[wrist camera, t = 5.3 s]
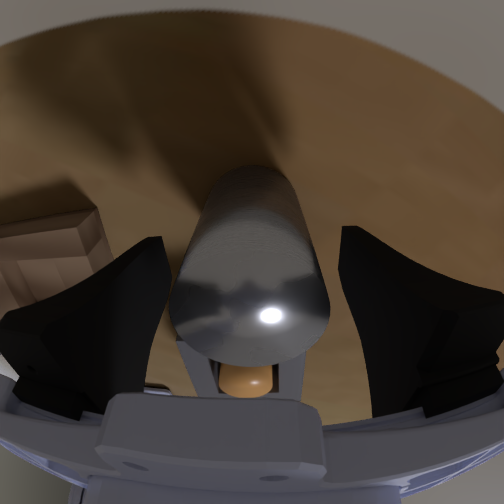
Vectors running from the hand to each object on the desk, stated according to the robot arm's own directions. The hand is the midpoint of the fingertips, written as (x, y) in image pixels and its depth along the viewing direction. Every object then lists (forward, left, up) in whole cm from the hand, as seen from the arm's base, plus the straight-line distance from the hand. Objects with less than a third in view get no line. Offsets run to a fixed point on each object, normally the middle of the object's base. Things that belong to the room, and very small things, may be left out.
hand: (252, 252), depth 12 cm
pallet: (-4, +21, -4) cm, 22 cm away
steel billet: (0, 0, -4) cm, 4 cm away
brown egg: (-9, +1, -3) cm, 10 cm away
